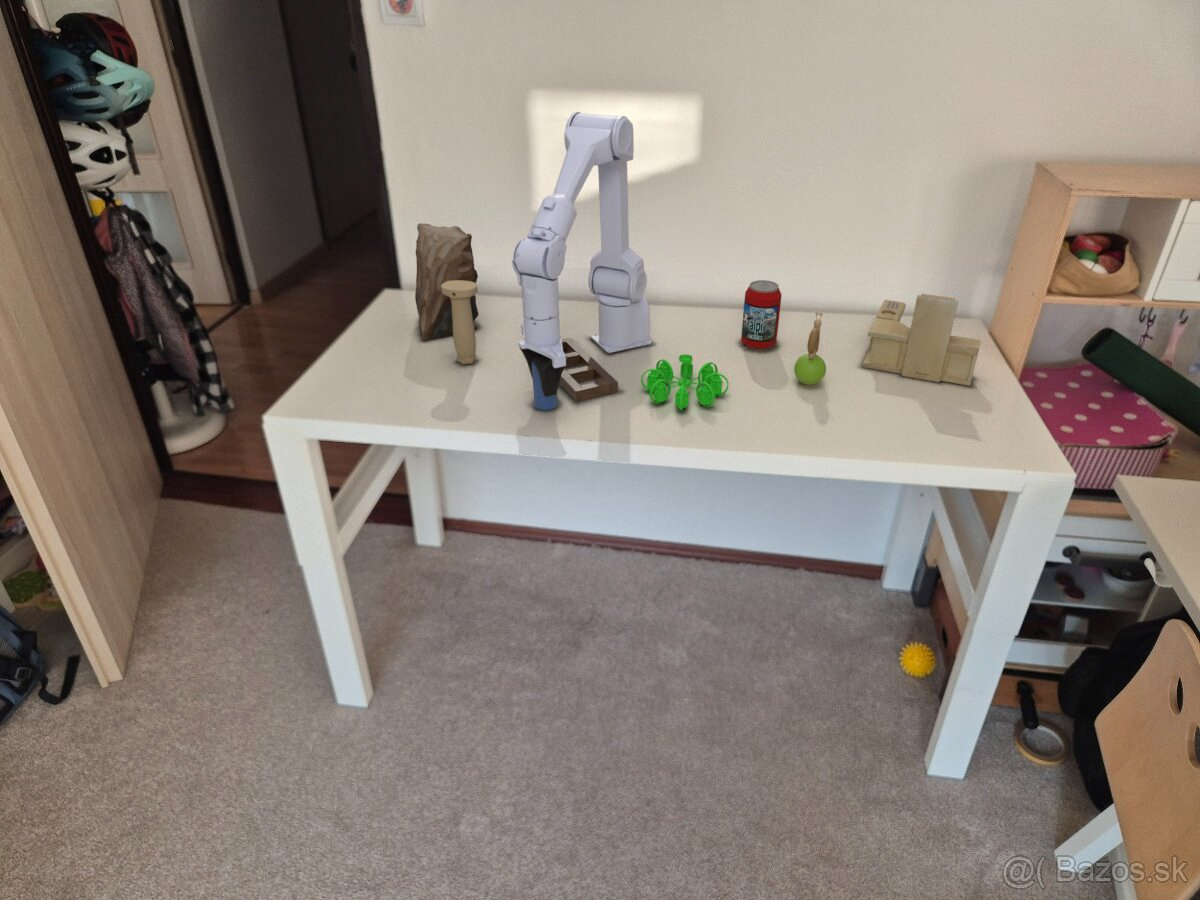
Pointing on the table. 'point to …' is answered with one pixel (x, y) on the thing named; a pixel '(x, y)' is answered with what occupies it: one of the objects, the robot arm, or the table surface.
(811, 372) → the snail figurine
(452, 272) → the brown rock
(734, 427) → the table surface
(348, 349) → the table surface
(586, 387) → the peg board
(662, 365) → the chandelier
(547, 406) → the peg
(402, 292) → the table surface
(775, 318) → the beverage can
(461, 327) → the handle
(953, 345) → the toy kitchen set
